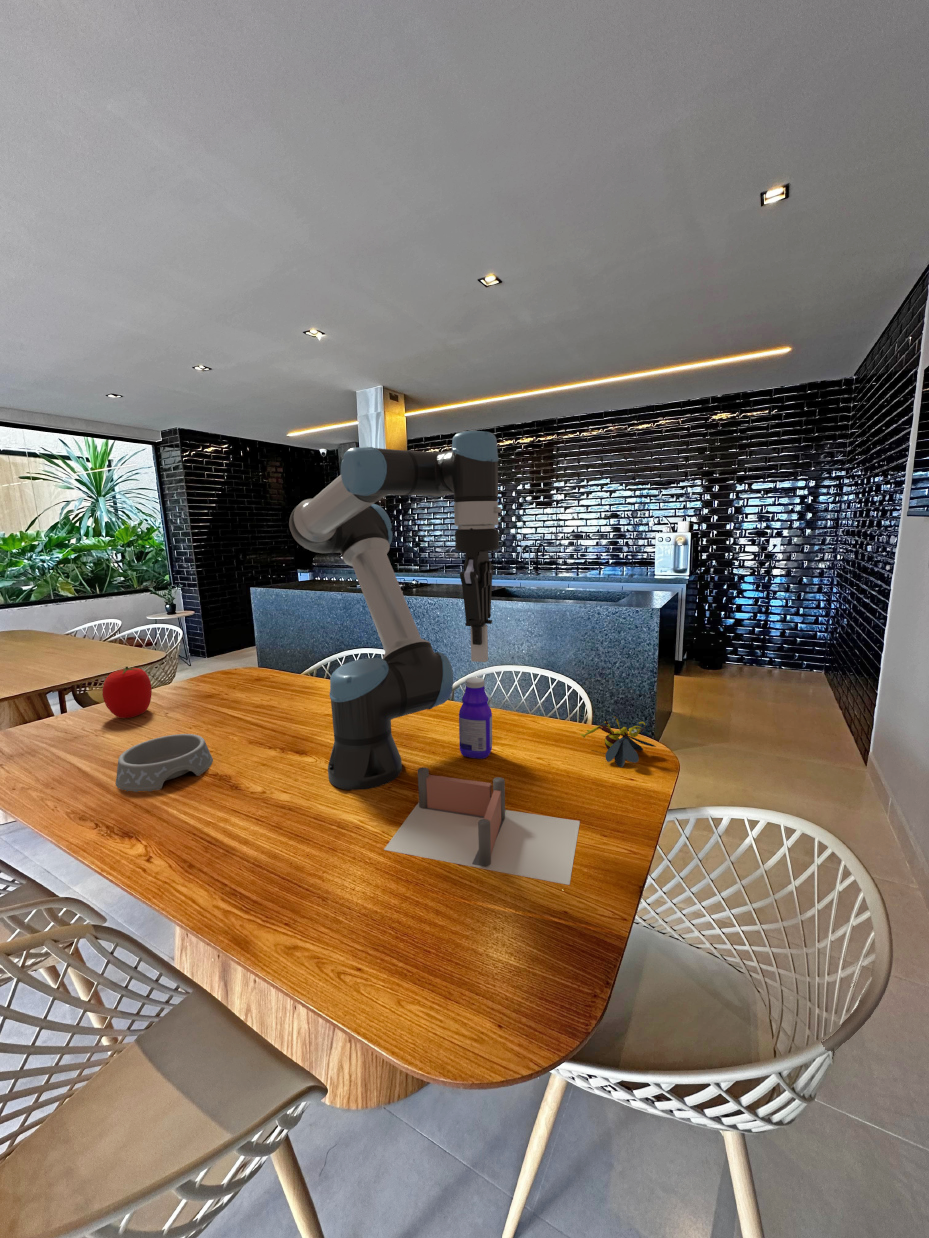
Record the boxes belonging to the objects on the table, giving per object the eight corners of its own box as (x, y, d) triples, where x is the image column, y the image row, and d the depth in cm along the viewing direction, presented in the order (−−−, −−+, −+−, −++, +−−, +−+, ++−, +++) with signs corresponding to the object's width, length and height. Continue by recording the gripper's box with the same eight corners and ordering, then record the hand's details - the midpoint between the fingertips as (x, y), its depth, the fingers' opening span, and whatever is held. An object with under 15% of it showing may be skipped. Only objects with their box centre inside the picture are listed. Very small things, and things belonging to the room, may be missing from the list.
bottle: (495, 750, 114) (494, 676, 111) (488, 762, 109) (486, 684, 106) (465, 746, 117) (462, 674, 113) (456, 757, 112) (454, 682, 108)
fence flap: (492, 819, 87) (492, 784, 86) (503, 821, 86) (502, 785, 85) (477, 865, 75) (476, 825, 74) (489, 866, 75) (488, 826, 74)
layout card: (383, 851, 80) (383, 849, 80) (422, 799, 95) (422, 796, 95) (569, 887, 71) (569, 884, 71) (579, 823, 86) (579, 820, 86)
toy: (594, 706, 120) (657, 716, 109) (596, 740, 121) (659, 753, 110) (568, 721, 111) (633, 733, 101) (571, 757, 112) (635, 772, 102)
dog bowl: (106, 774, 109) (101, 751, 108) (196, 746, 122) (193, 725, 121) (128, 802, 97) (124, 776, 96) (225, 767, 111) (222, 744, 110)
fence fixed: (417, 807, 92) (415, 771, 90) (421, 801, 94) (420, 766, 92) (503, 821, 87) (503, 783, 85) (506, 814, 89) (505, 778, 87)
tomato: (137, 723, 136) (129, 672, 134) (95, 724, 137) (87, 673, 134) (165, 706, 149) (158, 660, 146) (127, 707, 149) (119, 660, 146)
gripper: (487, 528, 79) (490, 672, 84) (506, 526, 92) (508, 652, 96) (443, 529, 82) (447, 669, 86) (467, 527, 94) (470, 650, 98)
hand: (479, 660), depth 91 cm, fingers closed
